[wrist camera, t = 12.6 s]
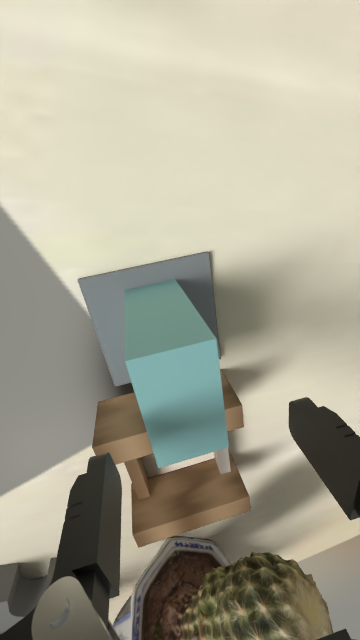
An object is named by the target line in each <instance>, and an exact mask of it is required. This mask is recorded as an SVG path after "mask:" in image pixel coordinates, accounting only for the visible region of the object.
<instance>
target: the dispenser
mask: <svg viewBox="0 0 360 640" xmlns="http://www.w3.org/2000/svg"><path fill="white" fill-rule="evenodd" d="M220 374H221V383H222V391H223V400H224V408H225V417H226V426H227V432H228V431H232V430H235V429H239V428H242V427H244V423H243V410H242V404H241V402H240V401H239V399H238V397H237V396H236V394H235V392H234V390H233V389H232V387H231V385H230V384H229V382H228V380H227V379H226V377H225V375H224V374H223V372H222V370H220ZM92 448H93V450H94V452H95V455H96V456H97V455H100V454H104V453H107V452H109V453H110V455H111V457H112V459H113V461H114V464H115V465H116V464H119V463H123V462H124V463H125V466H126V468H127V471H128V473H129V476H130V478H131V481H132V483H133V484H131V492H132V532H133V536H134V539H135V541H136V543H137V545H138V547H142V546H145V545H148V544H151V543H154V542H157V541H160V540H163V539H166V538H169V537H172V536H175V535H178V534H181V533H184V532H187V531H190V530H193V529H196V528H199V527H202V526H205V525H208V524H211V523H214V522H217V521H220V520H223V519H226V518H229V517H232V516H235V515H238V514H241V513H244V512H247V511H250V499H249V495H248V492H247V490H246V488H245V485H244V483H243V481H242V478H241V476H240V474H239V471H238V469H237V467H236V464H235V462H234V460H233V457H232V455H231V454H229V453H228V448H225V449H221V450H218V451H214V456H215V459H212V460H209V461H205V462H202V463H199V464H196V465H192V466H189V467H186V468H182V469H179V470H176V471H172V472H169V473H166V474H163V475H159V476H156V477H153V478H149V479H148V476H147V473H146V470H145V467H144V464H143V462H142V459H141V457H143V456H146V455H150V454H153V450H152V446H151V443H150V440H149V437H148V434H147V430H146V427H145V424H144V421H143V418H142V414H141V411H140V408H139V405H138V401H137V398H136V395H135V392H134V393H130V394H126V395H123V396H119V397H115V398H111V399H107V400H104V401H100V402H98V407H97V415H96V423H95V430H94V438H93V445H92Z"/></svg>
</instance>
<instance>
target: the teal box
mask: <svg viewBox="0 0 360 640" xmlns="http://www.w3.org/2000/svg"><path fill="white" fill-rule="evenodd" d="M125 363H126V366H127V369H128V372H129V376H130V379H131V382H132V385H133V389H134V392H135V395H136V398H137V401H138V405H139V408H140V411H141V414H142V418H143V421H144V424H145V427H146V430H147V434H148V437H149V440H150V443H151V446H152V450H153V453H154V456H155V459H156V463H157V466H158V468H161V467H164V466H168V465H171V464H174V463H178V462H181V461H184V460H188V459H191V458H194V457H198V456H201V455H204V454H208V453H211V452H214V451H218V450H221V449H225V448H228V447H229V443H228V434H227V426H226V417H225V408H224V400H223V391H222V383H221V374H220V366H219V357H218V349H217V340H216V337H215V336H214V335H213V333H212V332H211V330H210V329H209V327H208V326H207V324H206V323H205V322H204V320H203V319H202V317H201V316H200V314H199V313H198V311H197V310H196V309H195V307H194V306H193V304H192V303H191V301H190V300H189V298H188V297H187V295H186V294H185V293H184V291H183V290H182V288H181V287H180V285H179V284H178V282H177V281H176V280H175V279H174V280H169V281H165V282H160V283H156V284H151V285H147V286H142V287H137V288H133V289H128V290H125Z"/></svg>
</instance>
